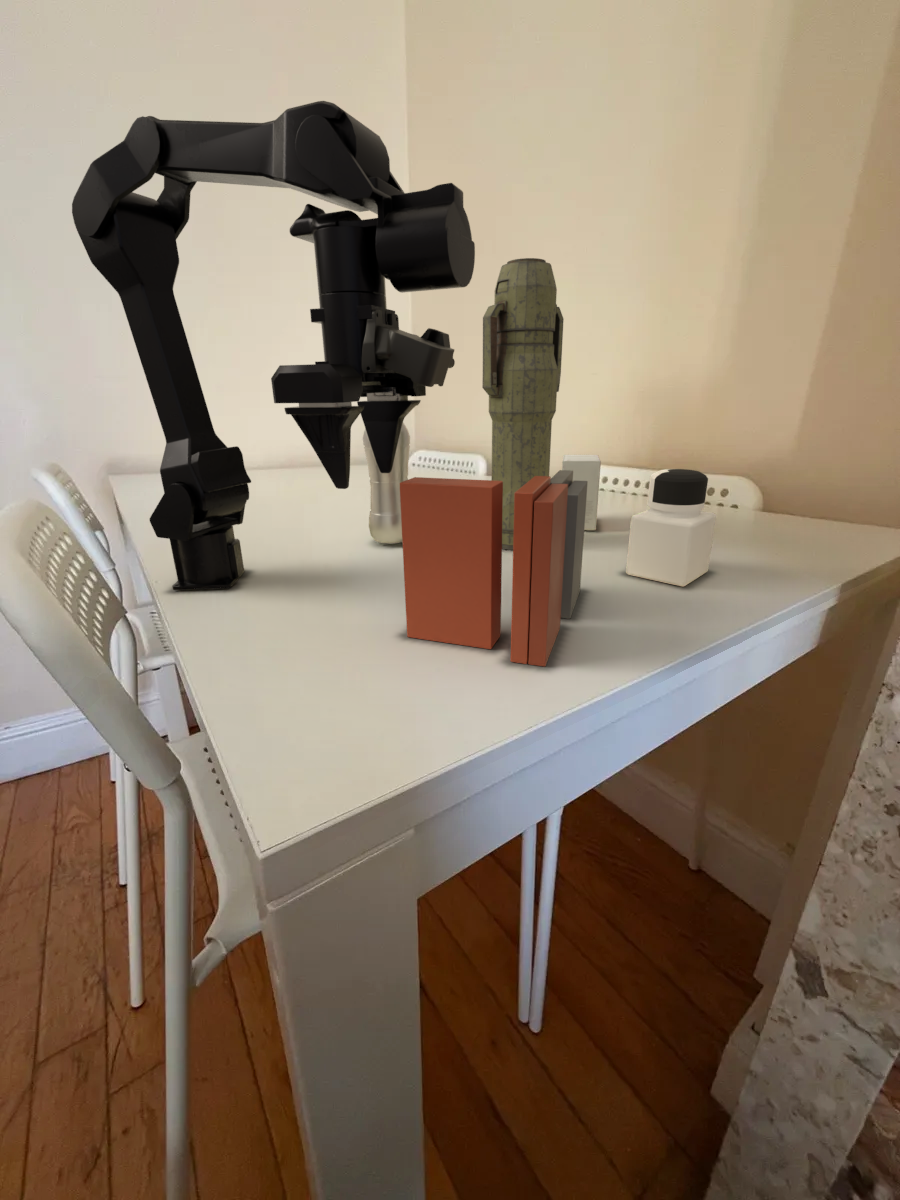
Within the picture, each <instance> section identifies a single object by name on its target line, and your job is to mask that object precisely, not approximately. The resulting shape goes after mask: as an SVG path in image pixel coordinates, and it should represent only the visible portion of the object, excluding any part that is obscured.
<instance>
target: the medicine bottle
mask: <svg viewBox="0 0 900 1200" xmlns="http://www.w3.org/2000/svg"><path fill="white" fill-rule="evenodd" d="M708 482H709V478H708V476H707V475H706V474H705V473H703V472H701V471H700V470H696V469H695V470H694V469H684V468H666V469H660V470H658V471H655V472H653V473H652V474H651V475H650V476H649V484H648V491H647V492H648V494H647V501H646V502H647V503H646V507H648V508H649V509H646V510H644V511H641V512H639V513H635V514H633V515H632V516H630V524H629V525H630V526H629V534H628V535H629V536H628V545H627V554H626V555H627V556H626V565H625V566H626V567H625V574H626V575H628V576H632V577H633V576H634V577H637V578H641V579H647V580H651V581H655V582H660V583H665V584H670V585H674V586H678V587H686V586H687V585H689V584H691V583H692V582H694V581H695V580H697V579H698V578H699V577H701V576H703V575H704V574H706V573H708V571H709V568H710V560H711V554H712V548H713V542H714V535H715V527H716V522H717V514H716V513H714V512H711V511H703V510H704V509H705V505H706V504H705V503H706V496H707V490H708Z"/></svg>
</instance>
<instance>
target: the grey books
mask: <svg viewBox="0 0 900 1200" xmlns="http://www.w3.org/2000/svg"><path fill="white" fill-rule="evenodd" d="M552 483H553V484H568V497H567V515H566V532H565V550H564V567H563V584H562V602H561V619H567V620H570V619H571V618H572V615H573V612H574V609H575V607H576V604H577V601H578V598H579V595H580V593H581V580H582V567H583V553H584V538H585V530H584V526H585V512H586V497H587V483H588V481H573V471H571V470H562V469H560V470H558V471H557V472H556V473H555V474H554V475H552V477H551V483H550V485H551V484H552Z"/></svg>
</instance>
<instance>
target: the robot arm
mask: <svg viewBox="0 0 900 1200" xmlns="http://www.w3.org/2000/svg"><path fill="white" fill-rule="evenodd" d="M390 161H391V159H390V157H389V152H388V149H387V146H386V145H385V143H384V142H383V140H382V138H381V136H380V135H378V134H377V133H376V132H375V131H373V130H372V129H370V128H369V127H367V126H366V125H365V124H363V123H362V122H361V121H359V120H358V119H356V117H354V116H352V115H351V114H349V113H348V112H346V111H345V110H344V109H343V108H341V107H340V106H338V105H337V104H336V103H334V102H330V101H326V100H318V101H314V102H309V103H306V104H302V105H298V106H293V107H289V108H287V109H285V110H284V111H283V112H282V113H281V114H280V115H279V116H278V117H277V118H276V119H274V120H270V121H266V122H243V121H242V122H241V121H240V122H239V121H212V120H211V121H208V120H184V119H183V120H182V119H181V120H178V119H177V120H176V119H160V118H157V117H155V116H152V115H148V116H144V115H142V116H139V117H137V118H136V119H135V120H134V121H133V122H132V123H131V125H130V128H129V129H128V132H127V133H126V135H125V137H124V138H123V140H122V141H121V142H119V143H118V144H116V145H115V146H113V147H112V148H111V149H108V150H107V151H106V152H104V153H103V154H101V155H100V156H99V157H97V158H95V159H94V160H92V162H91V163H90V165H89V166H88V168H87V170H86V172H85V175H84V176H83V178H82V180H81V183H80V184H79V186H78V188H77V190H76V192H75V193H74V196H73V200H72V203H71V214H72V219H73V223H74V226H75V229H76V232H77V234H78V236H79V238H80V241H81V243H82V244H83V247H84V250H85V251H86V254H87V256H88V259H89V260H90V263H91V264H92V265H93V267H94V268H95V269H96V270H97V271H98V272H99V273H100V274H101V275H102V277H103V278H104V279H105V280H106V281H107V282H108V283H109V284H110V286H111V287H112V288H113V289H114V291H115V292H116V293H117V294H118V296H119V298H120V301H121V304H122V308H123V310H124V314H125V317H126V320H127V322H128V326H129V329H130V332H131V335H132V338H133V342H134V344H135V348H136V351H137V354H138V357H139V361H140V363H141V366H142V370H143V373H144V375H145V380H146V382H147V385H148V388H149V391H150V395H151V398H152V401H153V404H154V407H155V411H156V413H157V416H158V417H157V418H158V420H159V423H160V426H161V429H162V432H163V435H164V438H165V447H164V451H163V456H162V459H161V463H160V468H159V473H160V477H161V483H162V488H163V495H162V496H161V498H160V499H159V501H158V503H157V505H156V507H155V508H154V510H153V511H152V513H151V515H150V517H149V523H150V525H151V527H152V530H153V531H154V534H155V535H156V537H157V538H159V539H166V540H167V539H168V540H169V543H170V548H171V553H172V559H173V563H174V568H175V569H174V570H175V574H176V578H177V581H176V582H175V583H173V584H172V590H173V591H186V590H187V591H188V590H189V591H190V590H193V591H194V590H217V589H218V590H219V589H231V588H232V587H233V586H234V584H235V583H236V582H237V581H238V580H239V579H240V578H241V576H242V575H244V573H245V572H246V570H245V569H246V568H245V567H244V566H245V565H244V560H243V553H242V547H241V546H242V545H241V541H240V539H239V538H236V537H235V531H234V526H236V525H237V526H239V525H242V524H243V523H244V517H245V508H246V504H247V501H249V499H250V488H249V484H251V483H252V480H251V478H250V476H249V475H248V473H247V469H246V467H245V461H244V455H243V452H242V451H241V448H240V447H239V446H227V445H226V444H225V443H224V442H223V440H222V439H220V437H219V436H218V435H217V434H216V431H215V428H214V426H213V425H214V424H213V423H212V419H211V416H210V412H209V410H208V406H207V402H206V399H205V395H204V391H203V389H202V385H201V382H200V378H199V375H198V372H197V368H196V365H195V361H194V358H193V355H192V351H191V348H190V344H189V340H188V338H187V334H186V331H185V328H184V324H183V319H182V318H181V313H180V311H179V310H180V309H179V307H178V304H177V300H176V297H175V294H174V293H175V292H174V286H175V282H176V278H177V274H178V270H179V266H180V257H179V251H178V244H177V239H178V238H179V236H180V234H181V233H182V232H183V230H184V229H185V227H186V226H187V224H188V223H189V220H190V210H191V209H190V208H191V192H192V190H193V188H194V187H195V185H196V184H197V182H200V183H211V184H212V183H214V184H226V185H227V184H228V185H241V186H252V187H253V186H255V187H265V188H279V189H291V190H293V191H297V192H299V193H302V194H305V195H308V196H310V197H313V198H315V199H318V200H322V201H324V202H327V203H330V204H333V205H335V206H338V207H342V208H345V209H347V210H340V211H333V212H325V210H324V209H323V208H320V207H319V206H315V205H313V204H311V203H306V205H305V206H304V208H303V211H302V213H301V214H300V215H299V216H298V217H297V218H296V219H295V220H294V222H293V223H292V224H291V225H290V227H289V234H290V236H291V237H293V238H296V239H300V240H302V241H306V242H309V243H312V244H313V246H314V247H313V249H314V260H315V271H316V280H317V293H318V303H319V308H310V309H309V311H310V322H311V323H312V324H313V323H314V324H319V325H320V324H321V325H320V326H321V337H322V347H323V358H324V359H323V360H324V361H314V363H313V364H287V365H286V364H285V365H283V364H282V365H281V364H280V365H279V366H278V367H277V369H276V370H275V372H274V373H273V374H272V376H271V379H270V381H271V388H272V397H273V403H274V404H298V406H289V407H288V406H287V407H284V412H285V414H286V415H290V416H291V417H292V419H293V420H294V421H295V423H296V425H297V426H298V428H299V429H300V431H301V432H302V433H303V435H304V437H305V438H306V440H307V441H308V443H309V444H310V446H311V448H312V449H313V451H314V452H315V454H316V455H317V458H318V459H319V461H320V462H321V465H322V466H323V468H324V470H325V471H326V473H327V475H328V476H329V478H330V480H331V482H332V483H333V485H334V487H335V488H336V489H337V490H347V489H348V488H349V486H350V476H351V442H352V441H351V439H352V437H351V436H352V435H351V434H352V431H351V429H352V426H353V425H354V423H355V421H357V419H358V417H359V416H360V417H361V419H362V422H363V425H364V430H365V429H366V432H367V435H368V438H369V441H370V444H371V447H372V450H373V454H374V457H375V460H376V462H377V465H378V467H379V470H380V472H381V473H390V472H391V471H392V466H393V462H394V458H395V453H396V449H397V444H398V440H399V435H400V431H401V427H402V424H403V423H404V420H405V418H406V417H407V416H408V414H410V413H411V412H412V411H413V409H414V408H415V407H416V406H419V405H420V404H421V399H409V397H425V396H427V392H426V391H427V389H426V387H428V388H433V387H434V386H435V385H438V386H439V387H444V383H445V380H446V377H447V373H448V370H449V369H452V368H453V367H454V366H455V364H456V361H455V359H454V353H455V348H452V347H451V341H450V334H449V333H447V332H443V331H441V330H439V329H435V328H430V327H428V328H427V329H426V330H425V331H424V333H422V335H421V336H420V335H417V334H414V333H413V334H412V333H410V332H407V331H404V330H401V329H400V324H399V323H400V322H399V321H400V320H399V316H398V314H397V313H396V310H394V309H393V310H392V309H389V308H388V306H387V290H386V280H388V281H389V282H390V284H391V286H392V287H393V288H394V289H395V290H396V291H397V292H399V293H413V292H426V291H437V290H448V289H450V290H451V289H459V288H461V289H462V288H466V287H467V286H468V285H469V284H470V283H471V281H472V279H473V275H474V269H475V263H476V262H475V261H476V260H475V259H476V244H475V241H473V238H472V237H473V235H472V230H471V225H470V220H469V218H468V214H467V212H466V209H465V208H464V191H463V190H462V189H461V188H459V187H458V186H457V185H455V183H453V182H448V183H447V182H446V183H441V184H437V185H434V186H432V187H431V188H428V189H424V190H417V191H412V192H405V191H404V190H403V189H402V186H401V185H400V184H399V183H398V181H397V179H396V177H395V176H394V174H393V173H392V172H391V165H390ZM155 174H156V175H159V176H162V177H163V189H162V191H161V193H160V194H159V196H158V198H157V199H155V198H151V197H148V196H145V195H142V194H139V193H136V192H134V191H136V190H138V189H139V188H141V187H142V186H144V185H145V184H146V183H148V182H149V181H151V180H152V178H153V177H154V176H155ZM356 212H358V213H361V212H372V213H374V214H376V215H377V217H373V218H366V219H362V218H361V217H360V216H359V215H358V214H357V213H356ZM361 398H366V400H361ZM353 402H354V403H355V402H356V403H357V405H352V403H353Z"/></svg>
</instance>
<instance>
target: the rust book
mask: <svg viewBox="0 0 900 1200" xmlns="http://www.w3.org/2000/svg"><path fill="white" fill-rule="evenodd" d="M400 503H401V523H402V542H401V543H402V559H403V579H404V580H403V581H404V600H405V601H404V602H405V618H406V634H407V635H406V636H407V638H412V639H419V640H425V641H431V642H439V643H445V644H446V643H447V644H453V645H459V646H465V647H472V648H473V647H474V648H480V649H486V650H493V649H492V648H493V647H494V646H495V645H496V643H497V642H498V640H499V639H500V638H501V634H502V630H501V629H502V576H503V575H502V574H503V573H502V570H503V569H502V568H503V567H502V566H503V565H502V563H503V557H502V556H503V549H502V507H503V481H492V479H491V480H489V479H470V478H469V479H466V478H446V477H445V478H443V477H442V478H441V477H421V476H420V477H419V476H418V477H416V476H414V477H411V478H408V480H406V481H403V482H401V483H400Z"/></svg>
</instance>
